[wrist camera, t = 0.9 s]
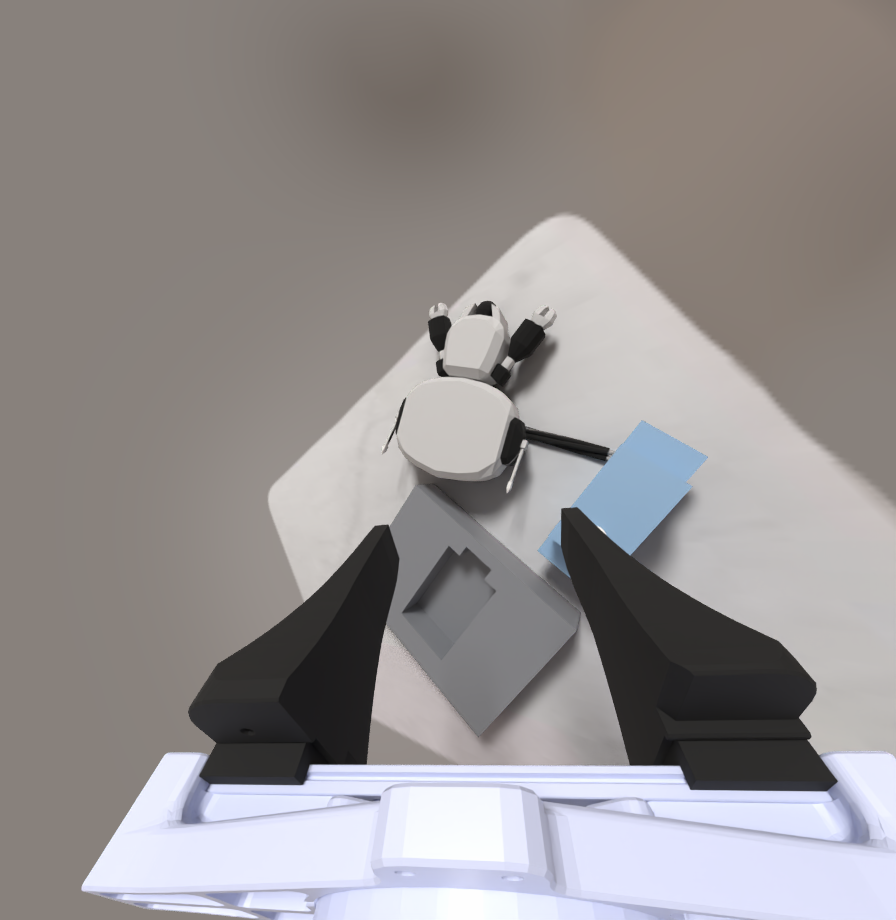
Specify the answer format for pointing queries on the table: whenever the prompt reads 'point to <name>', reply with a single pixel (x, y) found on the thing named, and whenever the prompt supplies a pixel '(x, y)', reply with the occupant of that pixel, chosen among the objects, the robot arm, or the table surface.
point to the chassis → (471, 608)
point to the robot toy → (469, 396)
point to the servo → (633, 490)
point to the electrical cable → (569, 444)
